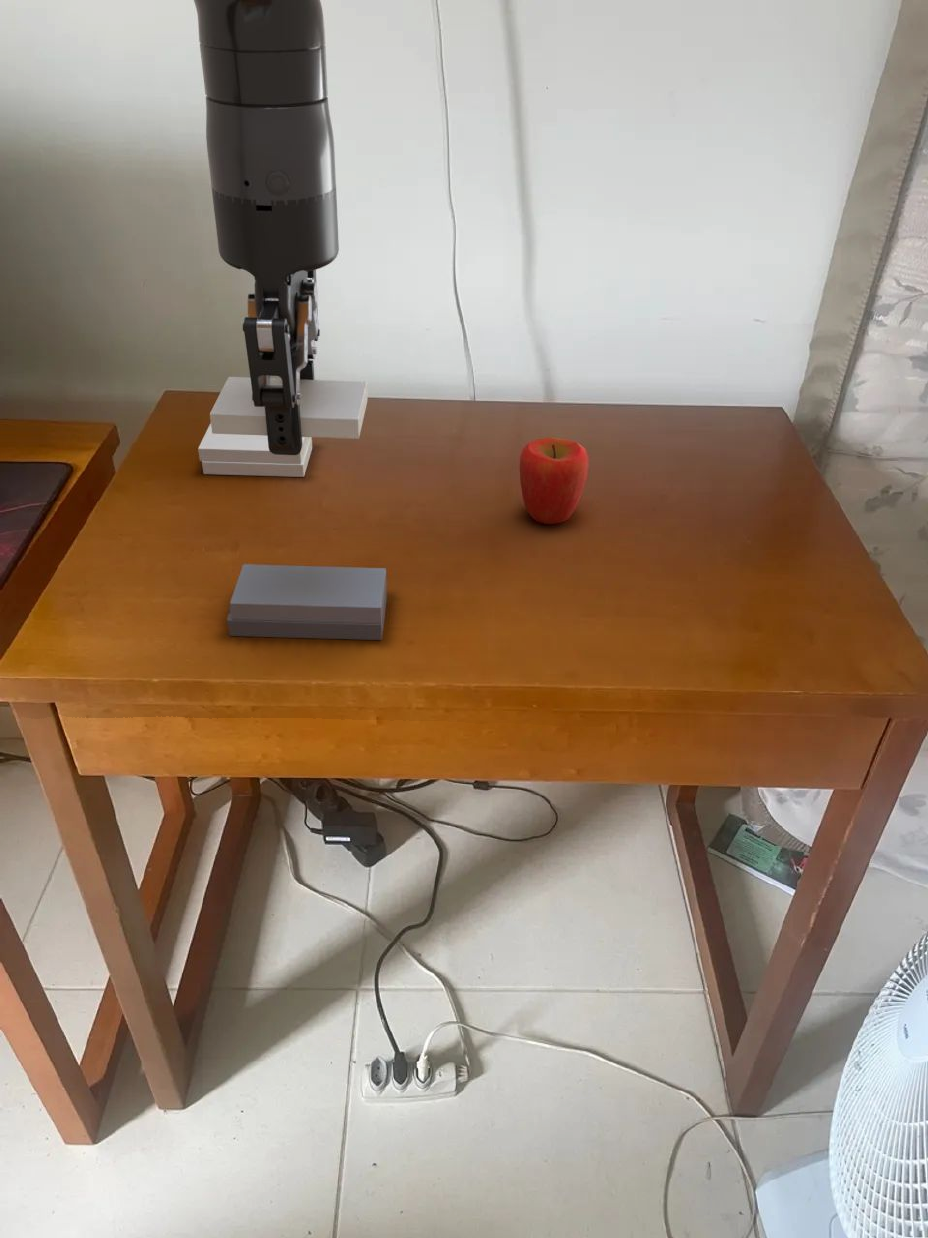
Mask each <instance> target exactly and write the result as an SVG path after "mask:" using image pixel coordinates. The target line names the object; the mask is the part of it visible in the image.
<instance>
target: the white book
mask: <svg viewBox="0 0 928 1238" xmlns="http://www.w3.org/2000/svg"><path fill="white" fill-rule="evenodd" d="M270 385H275V386H283V384H282V379H281V378H276V377H275V378H272V377H270ZM300 392H301V400H299V404H300V420H301V433H302V437H312V438H322V439H323V438H325V439H328V438H329V439H348V440H349V439H352V440H359V439H360V435H361V432H362V427H363V422H364V418H365V413H366V410H367V406H368V405H367V404H368V382H367V381H355V380H354V381H353V380H352V381H351V380H329V379H325V380H324V379H315V380H302V379H300ZM209 419H210V423H211V428H212V433H213V434H237V435H264V436H267V427H266V416H265V406H263V407H255V406H254V401H253V400H252V386H251V378H250V377H245V376H244V377H243V376H241V377H240V376H228V378H227V379H226V382H225V383H224V385H223V387H222V389H221V391H220V393H219V395H218V397H217V398H216V401H215V403H214V405H213V406H212V409H211V410H210V413H209Z"/></svg>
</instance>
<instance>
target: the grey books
mask: <svg viewBox="0 0 928 1238" xmlns="http://www.w3.org/2000/svg"><path fill="white" fill-rule="evenodd" d="M387 588H388V586H387V568H385V567H355V566H353V567H352V566H351V567H349V566H348V567H347V566H319V565H318V566H316V565H282V564H281V565H279V564H249V563H248V564H246V563H245V564H242V566H241V568H240V572H239V575H238V578H237V581H236V584H235V586H234V589H233V593H232V595H231V599H230V601H229V608H230V609H229V613H228V615H227V619H226V624H227V630H228V636H229V637H250V638H254V637H255V638H284V639H285V638H288V639H289V638H290V639H291V638H292V639H325V640H326V639H327V640H358V641H359V640H360V641H362V640H363V641H382V640H383V633H384V626H385V619H386V618H385V617H386V609H387V601H388V589H387Z"/></svg>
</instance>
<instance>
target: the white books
mask: <svg viewBox="0 0 928 1238" xmlns="http://www.w3.org/2000/svg"><path fill="white" fill-rule="evenodd" d="M312 450H313V437H302V449H301V452H300V453H299V454H298V455H275V454H273V453H271V452H270V450H269V447H268V437H267V436H264V435H237V434H213V433H212V428H211V422H210V424H209V425H208V427H207V430H206V431H205V433H204V435H203V438H202V439H201V442H200V444H199V446H198V448H197V451H198V457H199V461H200V462H201V465H202V471H203V475H219V476H220V475H224V476H253V477H255V476H259V477H260V476H261V477H287V478H288V477H291V478H294V477H295V478H304V477H305V475H306V472H307V468H308V465H309V461H310V458H311V455H312V452H313V451H312Z"/></svg>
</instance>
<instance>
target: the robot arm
mask: <svg viewBox="0 0 928 1238" xmlns="http://www.w3.org/2000/svg"><path fill="white" fill-rule="evenodd" d="M193 3H194V5H195V9H196V13H197V25H198V28H197V29H198V41H199V51H200V59H201V60H200V61H201V68H202V76H203V85H204V86H203V87H204V94H205V106H206V108H205V111H206V112H205V114H206V115H205V116H206V117H205V141H206V153H207V158H208V169H209V177H210V185H211V196H212V203H213V204H212V205H213V211H214V212H213V213H214V221H215V230H216V237H217V239H216V240H217V247H218V253H219V256H220V258H221V260H223V262H225V263H226V264H227V265H229V266H230V267H232V268H235V269H237V270H244V271H246V272H247V273H249V274H250V275H252V276H253V277H254V292H249V293H248V295H247V316H245V317H244V320H243V323H242V332H243V334H244V341H245V348H246V357H247V362H248V363H247V365H248V371H249V378H251V386H252V400H253V401H254V406H255V407H263V406H265V416H266V427H267V437H268V447H269V450H270V452H271V453H273V454H275V455H298V454H299V453H300V452H301V449H302V433H301V420H300V404H299V400H301V392H300V379H302V380H316V378H315V363H314V360H315V359H316V356H317V355H318V347H317V346H316V342H318V341H319V337H320V336H321V329H320V328H319V323H320V322H319V313H318V312H319V309H318V296H319V292H318V285H317V270H319V269H322V268H324V267H326V266H328V265H330V264H331V263H333V262H334V261H335V260H336V259H337V257H338V255H339V250H340V247H339V246H340V245H339V222H338V221H339V220H338V219H339V218H338V199H337V197H338V196H337V177H336V176H337V175H336V155H335V154H336V153H335V139H334V137H335V136H334V131H333V125H332V119H331V113H330V106H329V97H328V95H329V94H328V91H329V90H328V74H327V73H328V72H327V71H328V70H327V53H326V52H327V51H326V29H325V18H324V12H323V6H322V2H321V0H193ZM271 377H279V379H282V384H283V386H275V385H270V378H271Z"/></svg>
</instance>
